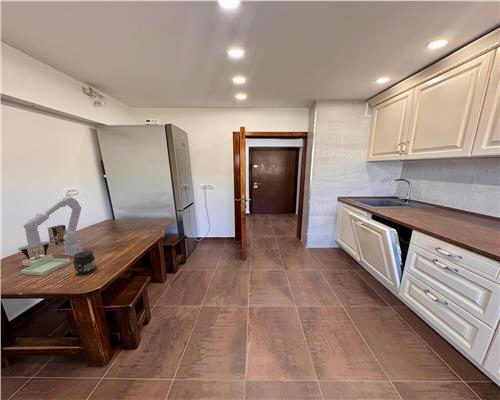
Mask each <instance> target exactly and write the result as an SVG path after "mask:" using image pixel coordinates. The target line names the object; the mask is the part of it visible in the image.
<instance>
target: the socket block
mask: <svg viewBox="0 0 500 400" xmlns="http://www.w3.org/2000/svg"><path fill="white" fill-rule="evenodd" d="M29 258H30V257H29ZM50 258H53V254H46V255H45V254H40V259H37V260H35V257H34V256H33V257H31V258H30V259H29V260H28V258H27V259H25V260H23V261H22V266H27V267H30V266H33V265H35V264H38V263H40V262H43V261H45V260H48V259H50Z"/></svg>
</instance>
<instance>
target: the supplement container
mask: <svg viewBox="0 0 500 400" xmlns="http://www.w3.org/2000/svg"><path fill="white" fill-rule="evenodd" d="M82 251H83V252H80V253H77V254H75V255H74V256H72V258H73V259H72V264H73V271H74V274H75V275H76V276H84V275H88V274H91V273H93V272H94V271H96V269H97V263H96V256H95V254H94V251H93V250H85V251H84V250H82Z"/></svg>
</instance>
